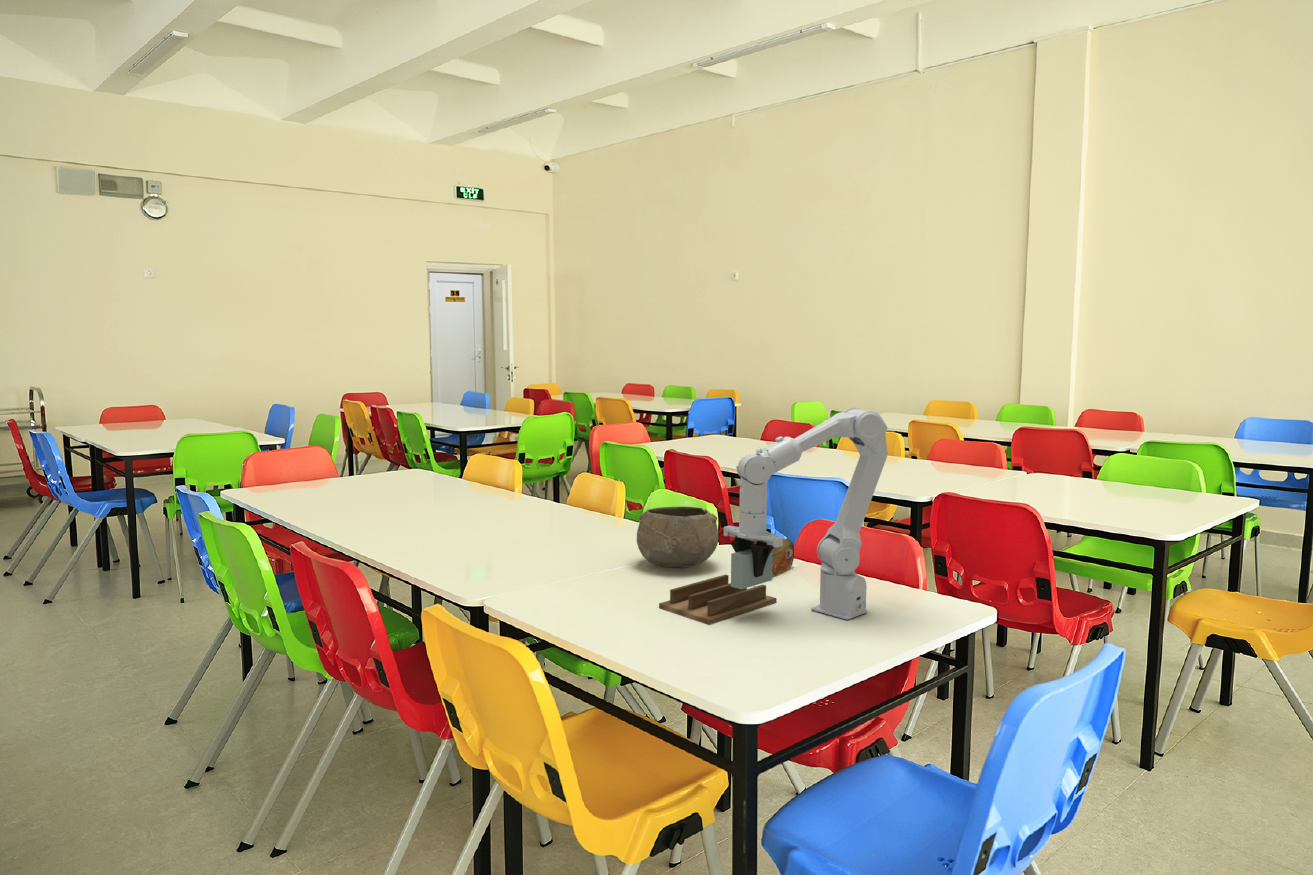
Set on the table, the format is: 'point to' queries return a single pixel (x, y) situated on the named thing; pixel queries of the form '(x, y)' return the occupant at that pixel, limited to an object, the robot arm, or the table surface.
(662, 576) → the table surface
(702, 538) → the clay pot
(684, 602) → the rack
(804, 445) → the robot arm
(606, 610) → the table surface
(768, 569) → the grey stone cuboid
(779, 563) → the tin
